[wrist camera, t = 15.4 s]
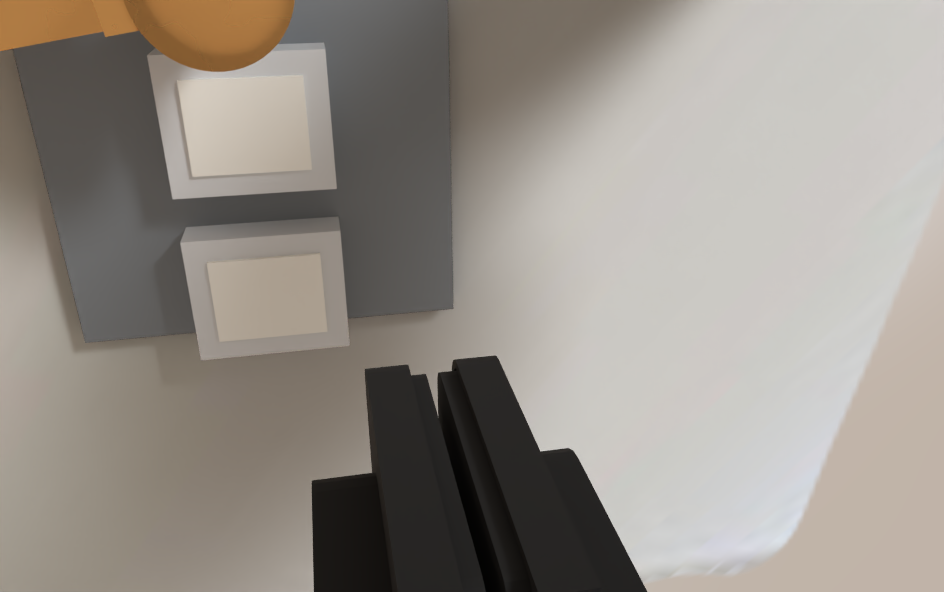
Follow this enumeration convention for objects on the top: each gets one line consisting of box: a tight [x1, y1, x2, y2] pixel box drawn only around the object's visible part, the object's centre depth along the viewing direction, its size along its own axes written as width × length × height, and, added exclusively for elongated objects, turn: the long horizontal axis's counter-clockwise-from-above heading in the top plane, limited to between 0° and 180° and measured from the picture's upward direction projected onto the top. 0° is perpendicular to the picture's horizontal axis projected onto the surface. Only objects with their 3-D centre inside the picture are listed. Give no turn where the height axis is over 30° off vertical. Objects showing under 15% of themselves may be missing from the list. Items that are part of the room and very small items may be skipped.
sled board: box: [13, 0, 453, 361], centre depth 33 cm, size 18×18×8 cm
